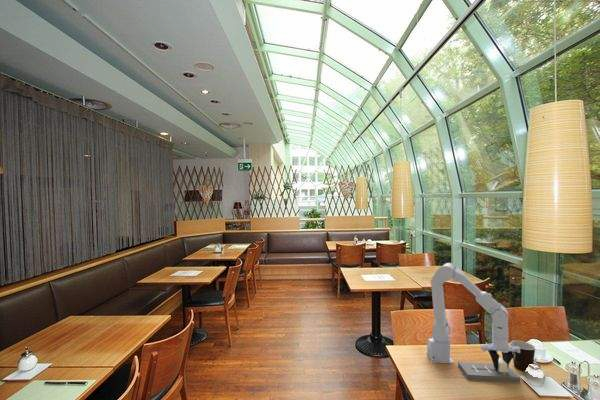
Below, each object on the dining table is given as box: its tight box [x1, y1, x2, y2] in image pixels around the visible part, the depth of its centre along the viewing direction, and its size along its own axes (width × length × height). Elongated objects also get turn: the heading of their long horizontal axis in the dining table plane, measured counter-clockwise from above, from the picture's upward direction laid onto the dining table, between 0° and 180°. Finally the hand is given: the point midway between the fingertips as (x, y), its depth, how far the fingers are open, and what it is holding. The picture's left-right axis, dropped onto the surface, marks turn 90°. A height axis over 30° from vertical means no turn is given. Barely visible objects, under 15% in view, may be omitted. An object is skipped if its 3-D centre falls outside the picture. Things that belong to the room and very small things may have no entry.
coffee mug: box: [510, 340, 536, 373], centre depth 133 cm, size 12×9×10 cm
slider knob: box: [497, 357, 507, 373], centre depth 127 cm, size 3×4×4 cm
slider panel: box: [457, 361, 522, 384], centre depth 128 cm, size 20×10×2 cm, turn 83°
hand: (500, 368), depth 127 cm, fingers closed on slider knob, 3 cm apart
